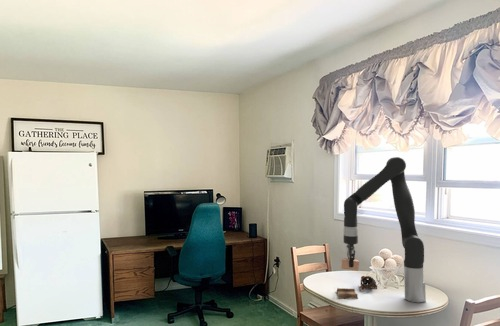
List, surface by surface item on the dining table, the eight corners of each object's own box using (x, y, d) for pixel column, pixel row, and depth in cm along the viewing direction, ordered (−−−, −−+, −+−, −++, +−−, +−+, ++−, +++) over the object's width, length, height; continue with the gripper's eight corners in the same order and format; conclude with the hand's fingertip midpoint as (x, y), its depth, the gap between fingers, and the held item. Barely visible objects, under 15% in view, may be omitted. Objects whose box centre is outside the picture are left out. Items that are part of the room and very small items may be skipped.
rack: (354, 292, 199) (354, 288, 199) (357, 298, 189) (357, 294, 189) (336, 291, 200) (336, 288, 200) (339, 298, 190) (339, 294, 190)
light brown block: (357, 268, 196) (357, 259, 196) (358, 270, 192) (359, 261, 192) (340, 266, 197) (341, 257, 197) (341, 268, 193) (342, 259, 193)
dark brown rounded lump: (382, 291, 201) (378, 280, 198) (368, 299, 199) (365, 289, 197) (368, 279, 212) (365, 269, 209) (355, 288, 210) (352, 277, 207)
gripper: (360, 237, 187) (360, 270, 187) (355, 232, 201) (355, 262, 201) (345, 236, 188) (345, 269, 188) (341, 232, 202) (341, 262, 202)
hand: (350, 265), depth 194 cm, fingers closed on light brown block, 3 cm apart
